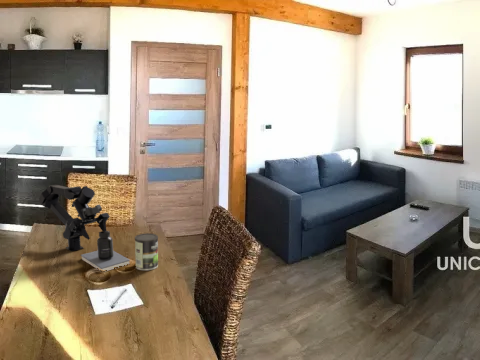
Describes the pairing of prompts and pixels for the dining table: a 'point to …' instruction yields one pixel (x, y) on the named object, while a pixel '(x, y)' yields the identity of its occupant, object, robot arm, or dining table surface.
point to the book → (105, 260)
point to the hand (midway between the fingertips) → (97, 236)
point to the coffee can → (146, 251)
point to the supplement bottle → (105, 245)
